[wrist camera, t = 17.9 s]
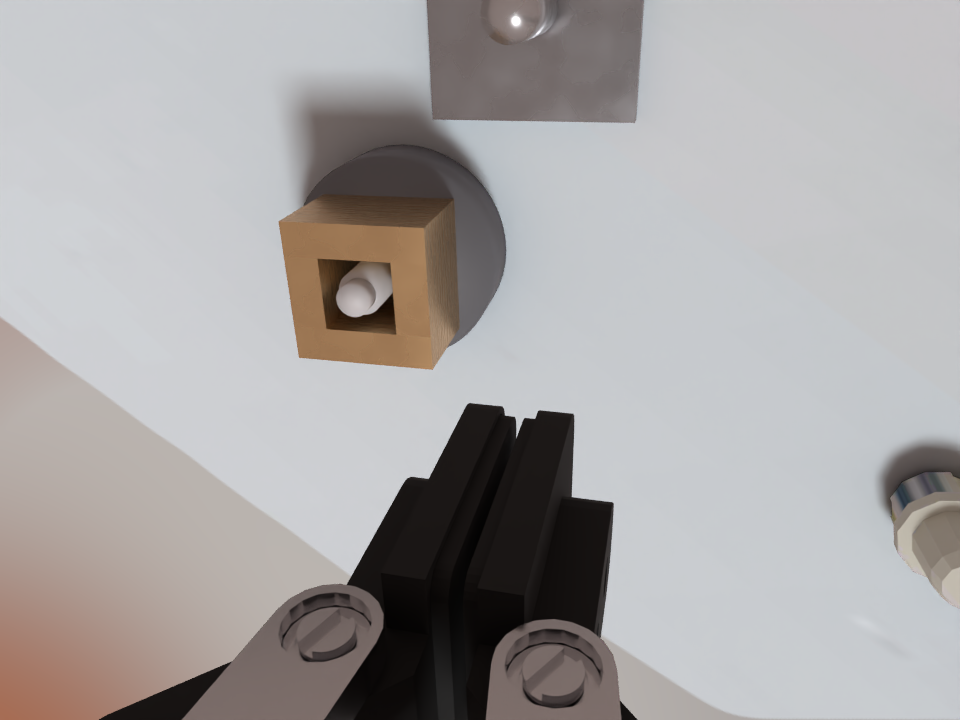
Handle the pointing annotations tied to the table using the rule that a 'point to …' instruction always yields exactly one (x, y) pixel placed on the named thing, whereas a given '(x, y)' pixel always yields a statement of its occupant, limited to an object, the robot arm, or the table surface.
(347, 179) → the hub
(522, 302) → the table surface
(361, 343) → the collar
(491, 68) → the stand
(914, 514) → the toothbrush head
